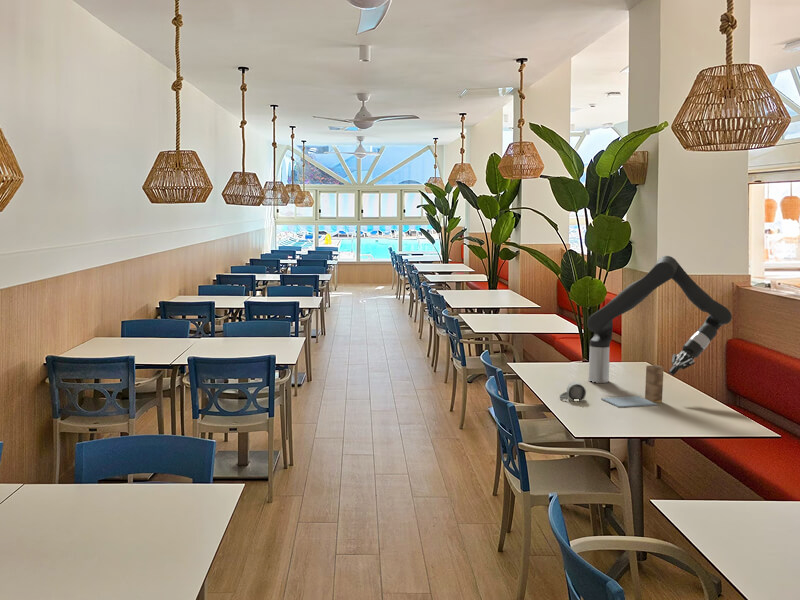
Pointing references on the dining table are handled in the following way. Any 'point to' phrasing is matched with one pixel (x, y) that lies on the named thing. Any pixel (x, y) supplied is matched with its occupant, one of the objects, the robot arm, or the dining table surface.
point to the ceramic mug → (574, 392)
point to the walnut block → (654, 383)
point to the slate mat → (629, 401)
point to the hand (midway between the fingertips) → (670, 373)
